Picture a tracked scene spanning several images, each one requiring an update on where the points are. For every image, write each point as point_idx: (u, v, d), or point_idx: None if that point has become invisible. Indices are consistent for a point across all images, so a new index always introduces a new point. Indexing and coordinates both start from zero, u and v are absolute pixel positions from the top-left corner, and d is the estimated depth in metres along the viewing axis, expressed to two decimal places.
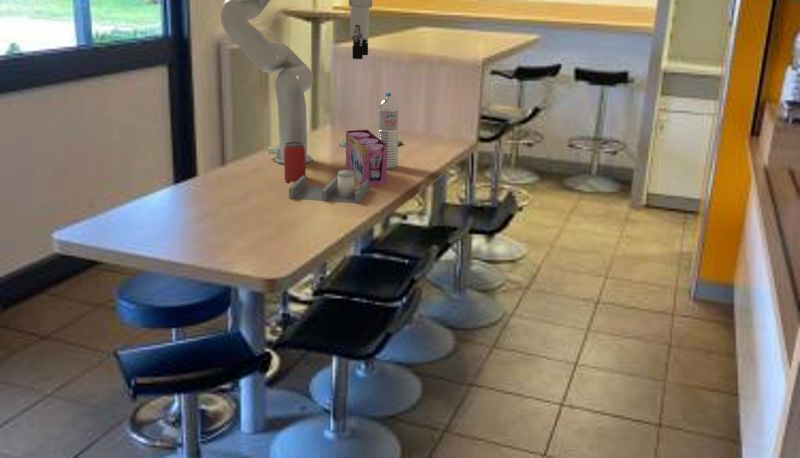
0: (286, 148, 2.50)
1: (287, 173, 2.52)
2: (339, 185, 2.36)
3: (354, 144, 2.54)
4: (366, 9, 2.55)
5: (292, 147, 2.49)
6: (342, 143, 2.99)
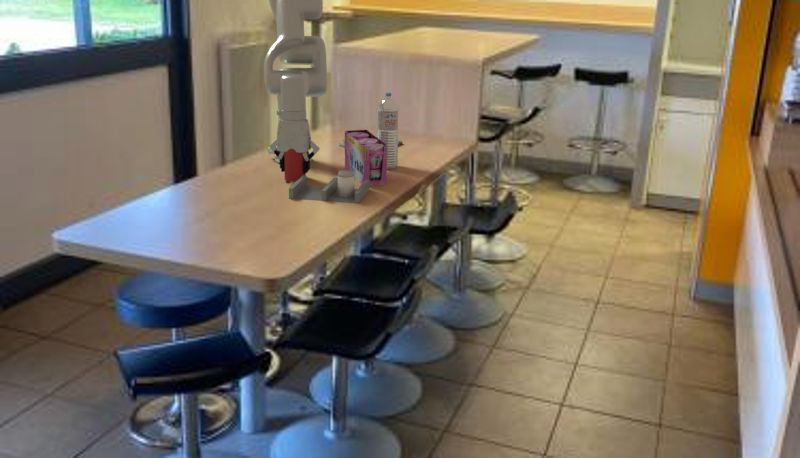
0: None
1: (287, 173, 2.52)
2: (339, 185, 2.36)
3: (354, 144, 2.54)
4: None
5: None
6: (342, 143, 2.99)
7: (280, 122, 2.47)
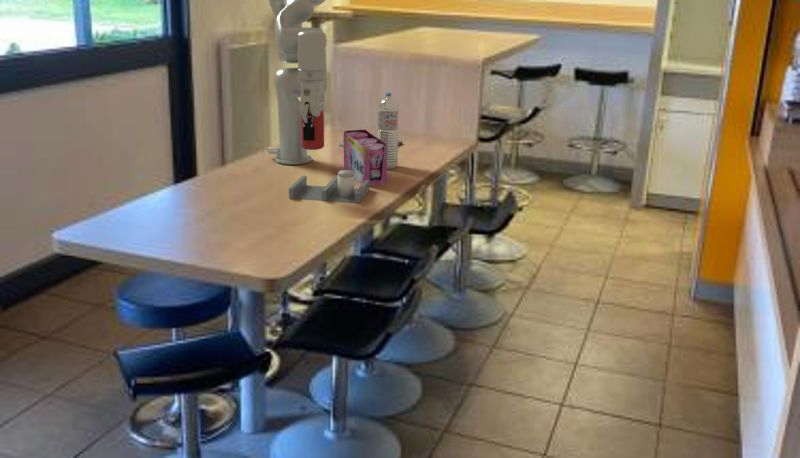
0: None
1: (320, 138, 2.33)
2: (339, 185, 2.36)
3: (353, 144, 2.54)
4: None
5: None
6: (342, 143, 2.99)
7: (316, 84, 2.26)
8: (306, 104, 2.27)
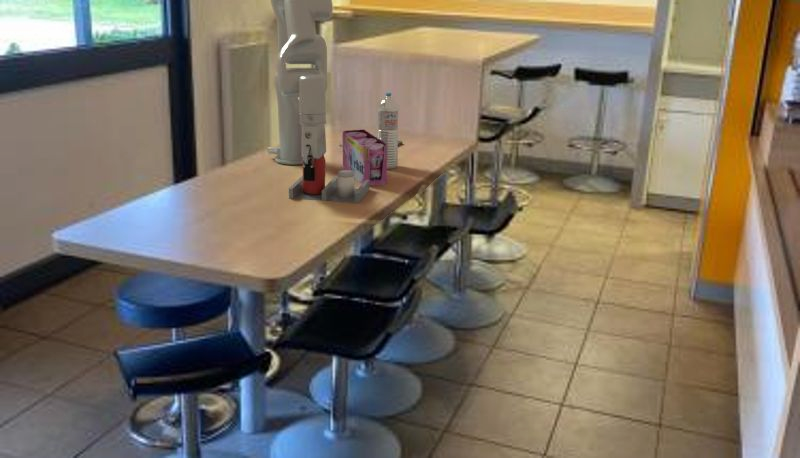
0: (319, 158, 2.35)
1: (321, 184, 2.37)
2: (339, 185, 2.36)
3: (353, 144, 2.54)
4: None
5: (323, 155, 2.36)
6: (342, 143, 2.99)
7: (317, 127, 2.30)
8: None
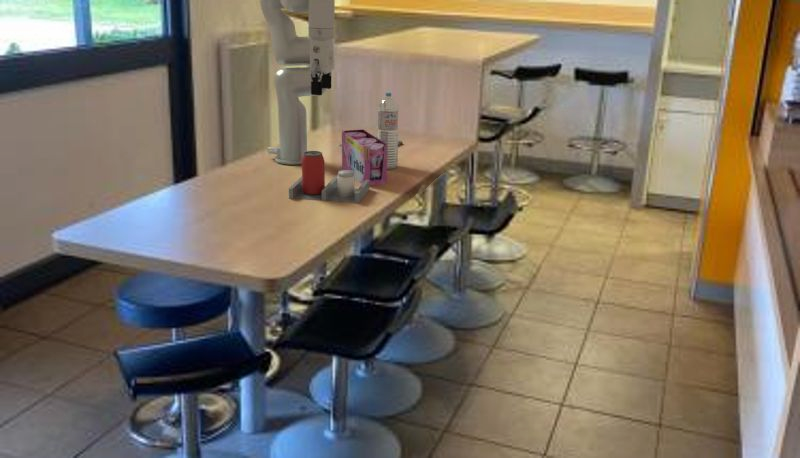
0: (318, 158, 2.35)
1: (321, 184, 2.37)
2: (339, 185, 2.36)
3: (352, 144, 2.54)
4: None
5: (322, 155, 2.36)
6: None
7: (325, 42, 2.32)
8: None
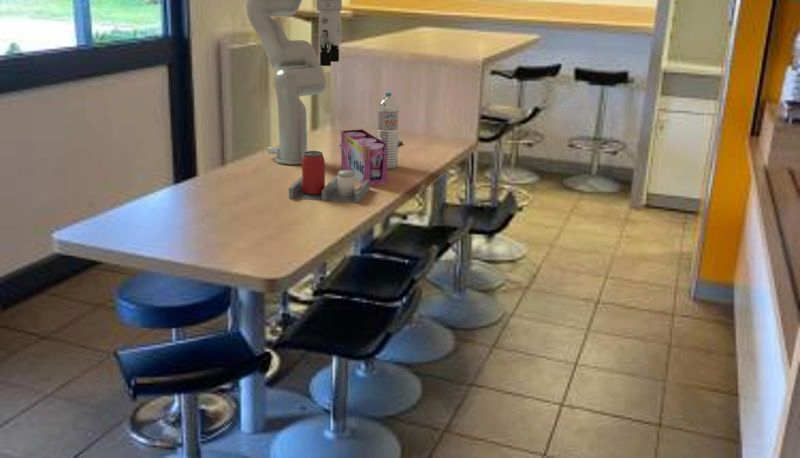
0: (318, 158, 2.35)
1: (321, 184, 2.37)
2: (339, 185, 2.36)
3: (352, 144, 2.54)
4: None
5: (322, 155, 2.36)
6: None
7: (334, 13, 2.38)
8: None
